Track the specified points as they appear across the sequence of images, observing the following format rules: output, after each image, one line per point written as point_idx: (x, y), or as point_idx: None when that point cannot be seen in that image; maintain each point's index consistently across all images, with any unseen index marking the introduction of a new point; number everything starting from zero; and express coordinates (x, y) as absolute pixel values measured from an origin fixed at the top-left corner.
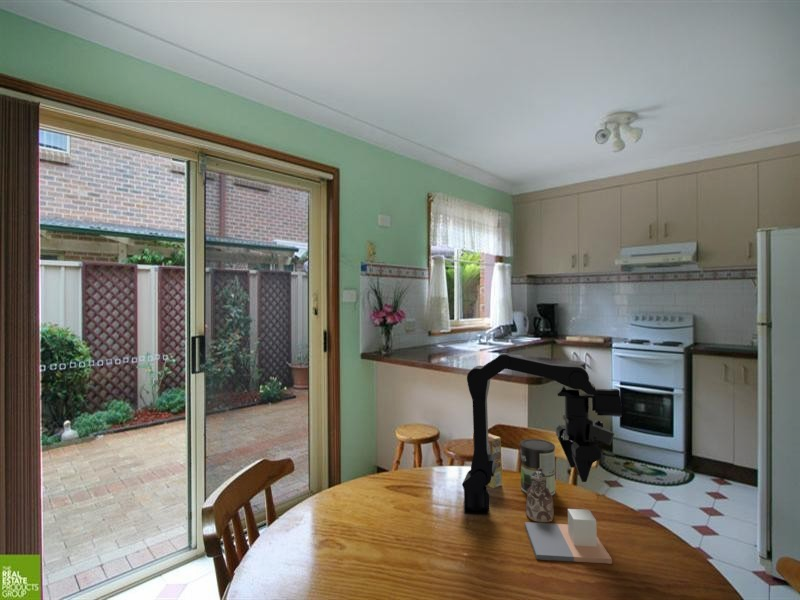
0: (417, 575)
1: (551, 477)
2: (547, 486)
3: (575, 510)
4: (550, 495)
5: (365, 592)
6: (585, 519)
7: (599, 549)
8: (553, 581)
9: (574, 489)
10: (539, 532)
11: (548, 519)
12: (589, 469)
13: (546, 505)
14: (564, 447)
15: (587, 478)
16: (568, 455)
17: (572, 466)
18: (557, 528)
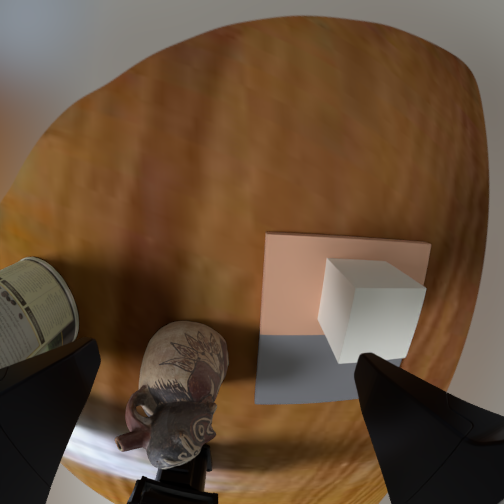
0: (373, 483)
1: (27, 300)
2: (53, 306)
3: (355, 341)
4: (197, 378)
5: (383, 496)
6: (415, 322)
7: (397, 258)
8: (439, 366)
9: (21, 194)
10: (307, 383)
11: (226, 346)
12: (451, 401)
13: (218, 374)
14: (44, 486)
15: (387, 361)
16: (63, 427)
17: (96, 356)
18: (288, 340)
